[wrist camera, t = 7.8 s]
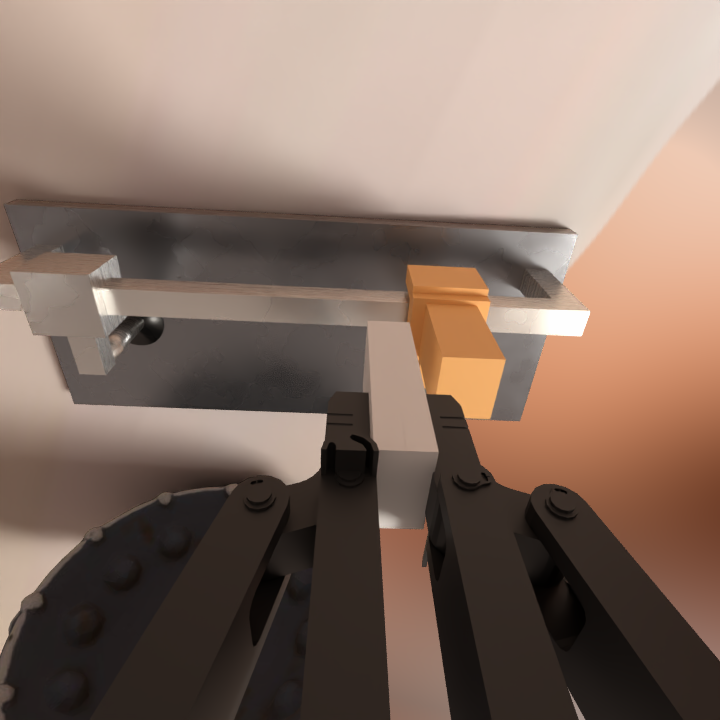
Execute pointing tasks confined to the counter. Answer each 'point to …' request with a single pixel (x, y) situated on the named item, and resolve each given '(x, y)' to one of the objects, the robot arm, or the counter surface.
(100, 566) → the studded round pot
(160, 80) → the counter surface
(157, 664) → the robot arm
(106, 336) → the grey slide rail
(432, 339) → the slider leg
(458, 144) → the counter surface
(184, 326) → the bolt plate
